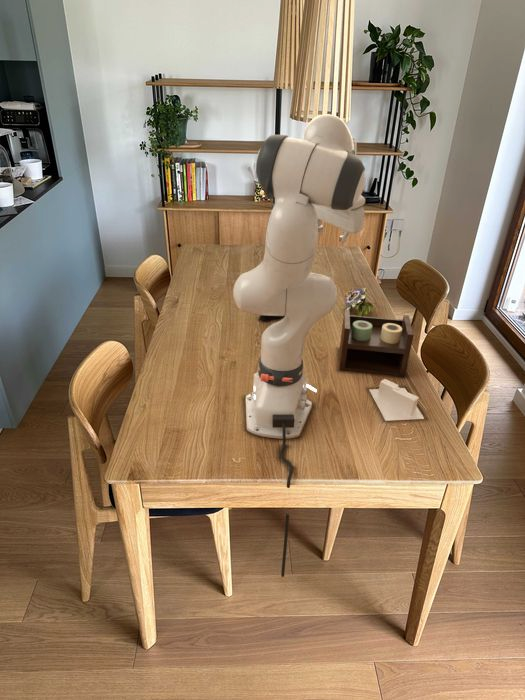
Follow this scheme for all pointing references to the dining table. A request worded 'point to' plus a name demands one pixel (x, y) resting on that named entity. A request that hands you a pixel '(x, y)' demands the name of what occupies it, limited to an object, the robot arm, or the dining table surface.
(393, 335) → the cream tape roll
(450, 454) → the dining table surface
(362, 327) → the sage tape roll
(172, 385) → the dining table surface
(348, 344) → the shelf
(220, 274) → the dining table surface
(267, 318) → the film camera
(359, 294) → the passion flower
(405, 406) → the napkin holder
